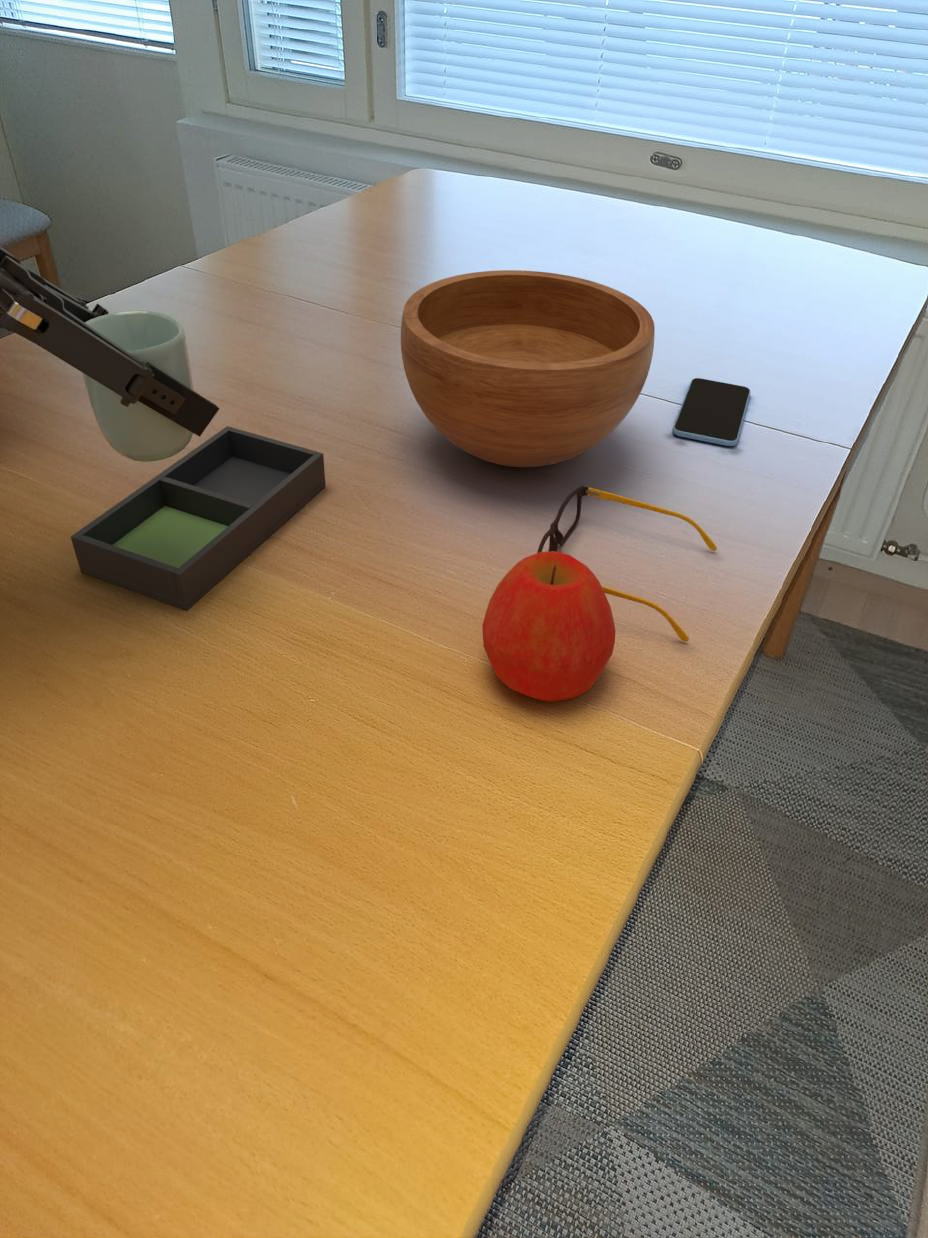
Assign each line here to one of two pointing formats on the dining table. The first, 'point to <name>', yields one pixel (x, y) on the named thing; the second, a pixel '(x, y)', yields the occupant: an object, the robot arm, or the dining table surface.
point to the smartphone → (712, 412)
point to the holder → (200, 516)
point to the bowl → (525, 362)
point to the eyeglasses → (609, 496)
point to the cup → (138, 425)
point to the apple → (549, 627)
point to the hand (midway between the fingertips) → (186, 398)
